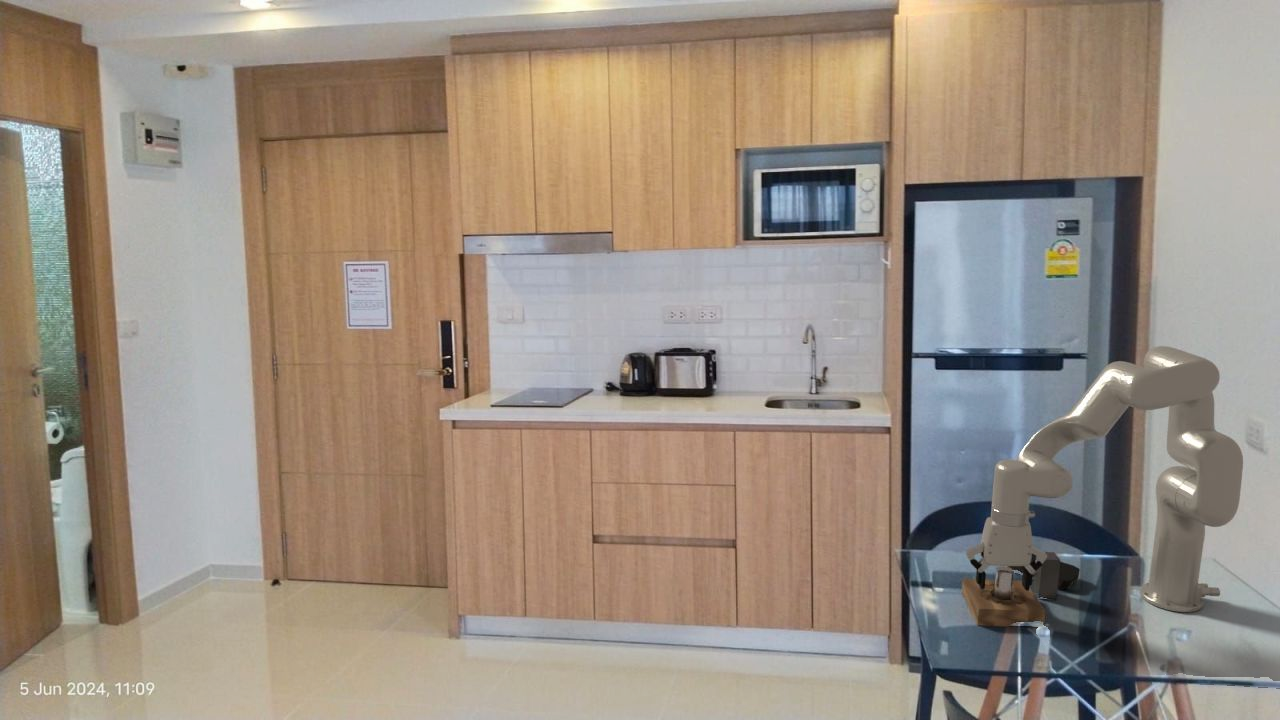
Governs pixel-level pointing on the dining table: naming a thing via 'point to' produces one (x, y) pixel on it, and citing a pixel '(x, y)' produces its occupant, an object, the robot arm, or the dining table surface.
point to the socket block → (1001, 604)
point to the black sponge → (1065, 573)
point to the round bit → (1003, 583)
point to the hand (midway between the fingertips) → (1003, 587)
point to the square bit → (1047, 577)
